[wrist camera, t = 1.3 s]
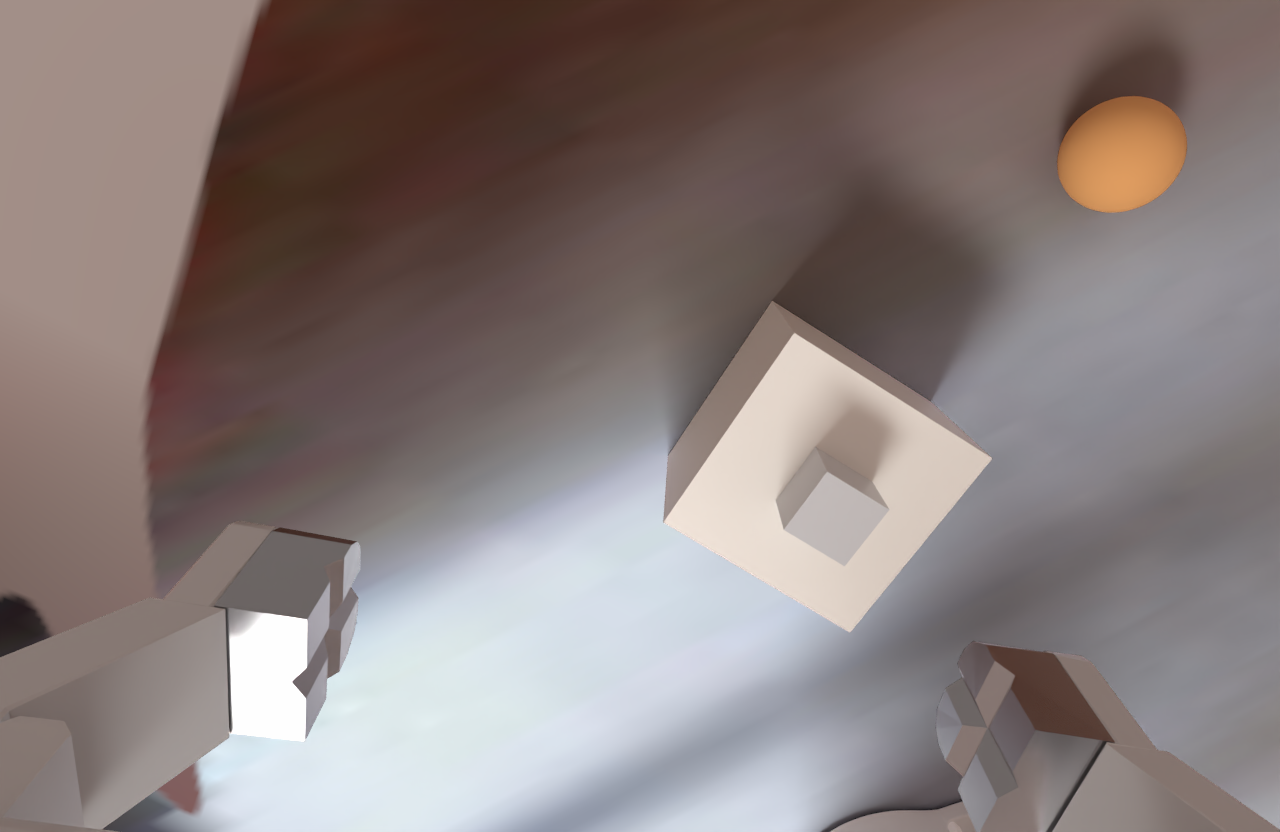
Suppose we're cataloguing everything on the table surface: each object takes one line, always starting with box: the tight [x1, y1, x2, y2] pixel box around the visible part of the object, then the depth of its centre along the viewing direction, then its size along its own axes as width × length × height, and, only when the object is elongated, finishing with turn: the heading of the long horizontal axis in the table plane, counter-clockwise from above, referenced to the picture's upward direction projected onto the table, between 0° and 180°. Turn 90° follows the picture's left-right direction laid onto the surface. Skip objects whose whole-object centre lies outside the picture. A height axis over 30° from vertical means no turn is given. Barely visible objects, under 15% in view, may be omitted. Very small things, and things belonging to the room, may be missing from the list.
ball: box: [1057, 96, 1187, 213], centre depth 35 cm, size 5×5×5 cm
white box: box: [663, 301, 992, 632], centre depth 37 cm, size 10×10×12 cm
